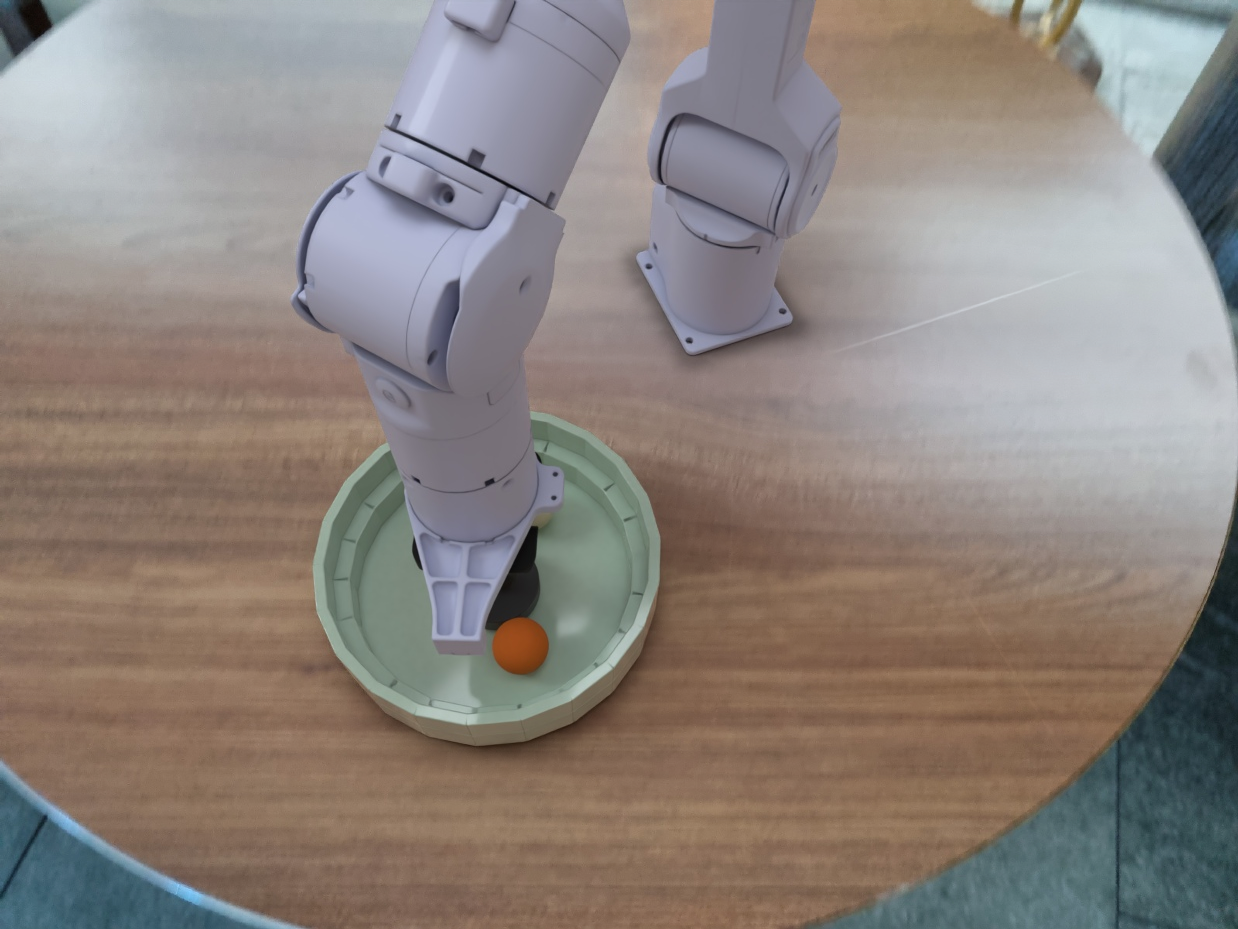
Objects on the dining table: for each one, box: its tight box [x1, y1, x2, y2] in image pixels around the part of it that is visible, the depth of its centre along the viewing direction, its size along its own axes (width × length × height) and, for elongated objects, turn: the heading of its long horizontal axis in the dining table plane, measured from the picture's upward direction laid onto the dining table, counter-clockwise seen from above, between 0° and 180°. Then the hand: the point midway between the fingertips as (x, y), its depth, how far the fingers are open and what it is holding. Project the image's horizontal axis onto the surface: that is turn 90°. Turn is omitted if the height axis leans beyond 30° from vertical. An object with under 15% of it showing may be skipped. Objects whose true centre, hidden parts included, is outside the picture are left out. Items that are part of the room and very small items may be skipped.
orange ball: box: [492, 617, 549, 675], centre depth 49 cm, size 3×3×3 cm
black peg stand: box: [485, 562, 540, 630], centre depth 48 cm, size 5×5×8 cm
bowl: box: [312, 410, 662, 747], centre depth 51 cm, size 18×18×5 cm
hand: (493, 567), depth 49 cm, fingers closed on black peg stand
